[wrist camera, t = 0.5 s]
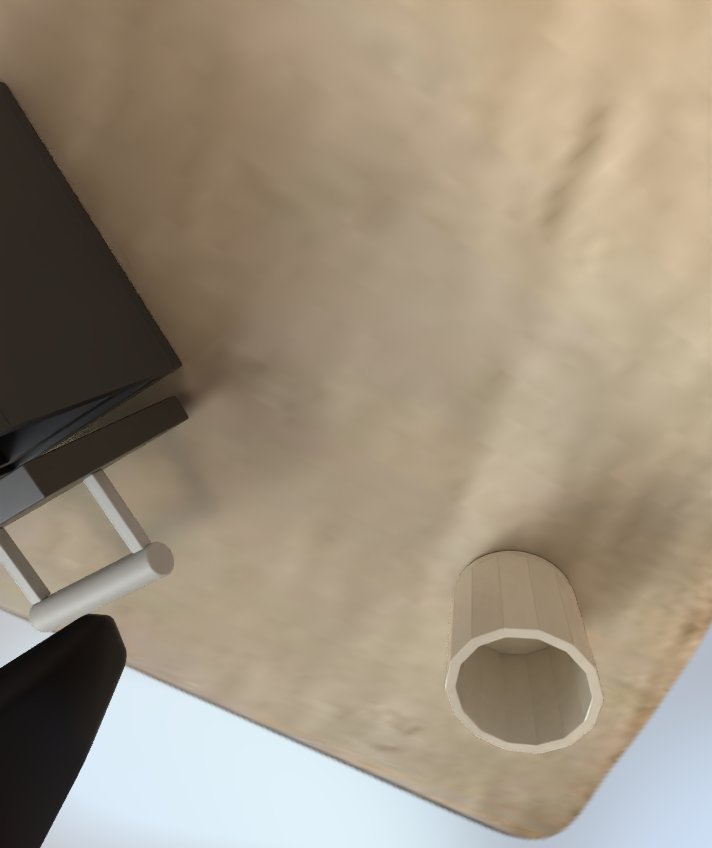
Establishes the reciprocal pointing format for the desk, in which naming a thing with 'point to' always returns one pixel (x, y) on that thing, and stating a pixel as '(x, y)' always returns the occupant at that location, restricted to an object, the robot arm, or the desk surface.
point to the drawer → (86, 463)
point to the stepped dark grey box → (62, 299)
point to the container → (520, 655)
